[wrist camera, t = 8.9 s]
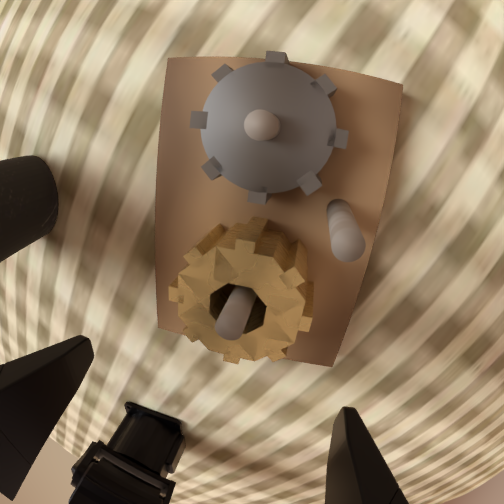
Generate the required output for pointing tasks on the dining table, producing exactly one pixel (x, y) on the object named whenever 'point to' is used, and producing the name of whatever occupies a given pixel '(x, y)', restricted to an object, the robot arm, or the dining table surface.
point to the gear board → (275, 177)
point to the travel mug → (25, 203)
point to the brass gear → (248, 275)
